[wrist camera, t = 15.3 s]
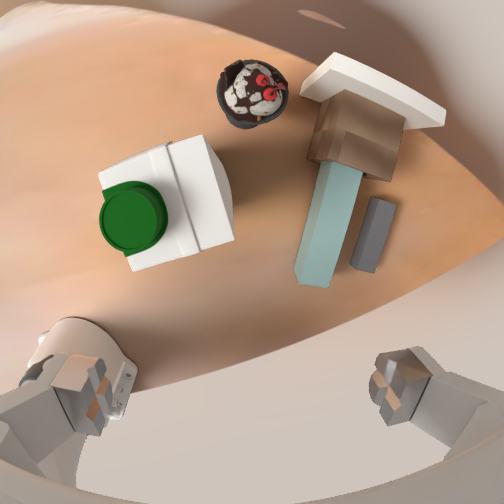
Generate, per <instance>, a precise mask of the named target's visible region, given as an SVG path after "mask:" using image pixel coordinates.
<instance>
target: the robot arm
mask: <svg viewBox="0 0 504 504" xmlns="http://www.w3.org/2000/svg"><path fill="white" fill-rule="evenodd" d="M38 342H39V347H38V348H37V350H36V351H35V353H34V355H33V356H32V358H31V359H30V361H29V363H28V368H29V369H28V371H26V372H25V374H24V375H23V377H22V380H21V381H20V383H19V387H18V388H16V389H14V390H12V391H10V392H8V393H6V394H4V395H2V396H0V504H146V503H139V502H133V501H128V500H122V499H117V498H112V497H108V496H103V495H99V494H95V493H91V492H88V491H84V490H80V489H77V488H76V471H77V466H78V462H79V458H80V454H81V451H82V448H83V445H84V442H85V439H86V438H87V437H86V436H88V435H94V436H100V435H101V433H102V430H103V428H105V427H106V426H107V424H108V421H109V420H118V419H121V418H122V417H123V415H124V412H125V408H126V405H127V402H128V399H129V396H130V393H131V390H132V387H133V384H134V381H135V378H136V375H137V372H138V368H137V366H136V365H135V364H134V363H133V362H132V361H131V360H129V359H128V358H127V357H125V355H124V354H123V353H122V351H121V350H120V348H119V347H118V345H117V344H116V342H115V341H114V340H113V339H112V338H111V337H110V336H109V335H108V334H107V333H106V332H105V331H104V330H103V329H101V328H100V327H98V326H97V325H95V324H93V323H91V322H89V321H86V320H83V319H79V318H66V319H62V320H60V321H59V322H57V323H56V324H55V325H54V326H53V328H52V329H51V330H50V331H49V332H46V333H43V334H42V335H41V336H40V337H39V339H38ZM375 366H376V368H377V370H376V371H375V372H374V373H373V374H372V375H371V378H370V381H369V393H370V396H371V399H372V401H373V402H374V403H375V404H377V405H379V406H381V408H380V411H379V413H380V414H381V416H382V418H383V419H384V421H385V423H386V424H387V426H390V425H395V424H399V423H403V422H407V421H410V422H411V423H413V424H414V425H416V426H417V427H419V428H420V429H422V430H423V431H425V432H427V433H428V434H430V435H431V436H433V437H435V438H436V439H437V440H439V441H441V442H442V443H444V444H446V445H447V446H449V447H451V449H450V451H449V452H448V453H447V454H446V456H445V458H444V460H443V461H442V462H439V463H437V464H434V465H432V466H430V467H428V468H425V469H423V470H420V471H418V472H415V473H413V474H410V475H407V476H405V477H402V478H399V479H396V480H393V481H390V482H387V483H384V484H381V485H378V486H375V487H371V488H367V489H364V490H360V491H357V492H352V493H348V494H344V495H340V496H335V497H331V498H326V499H321V500H315V501H310V502H304V503H297V504H504V392H503V391H500V390H497V389H495V388H492V387H489V386H486V385H484V384H481V383H478V382H476V381H473V380H470V379H468V378H465V377H462V376H460V375H457V374H455V373H452V372H445V370H444V369H443V368H442V367H441V366H440V365H439V364H438V363H437V362H436V361H435V360H434V359H433V358H432V357H431V356H430V355H429V354H428V353H427V352H426V351H425V350H424V349H423V348H422V347H420V346H416V347H412V348H407V349H405V350H399V351H393V352H387V353H380V354H379V355H378V357H377V358H376V362H375ZM129 374H130V375H129Z"/></svg>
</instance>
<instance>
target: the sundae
mask: <svg viewBox="0 0 504 504" xmlns="http://www.w3.org/2000/svg"><path fill="white" fill-rule="evenodd" d="M220 76H221V77H220V79H219V80H218V84H217V91H216V92H217V98H218V102H219V105H220V106H221V108H222V110H223V111H224V113H225V114H226V117H227V119H228V120H229V122H230V123H231V124H233V125H234V126H236V127H238V128H242V129H249V128H253V127H255V126H257V125H258V124H263V123H267V122H269V121H271V120H273V119H275V118H277V117H278V116H279V115H280V114H281V113H282V112H283V110H284V109H285V106H286V104H287V101H288V94H289V91H288V82H287V81H286V80H285V78H284V77H283V75H282V74H281V73H280V72H279V71H278V70H277V69H276V68H274V67H273V66H271V65H269V64H267V63H265V62H262V61H259V60H244V61H242V60H238V61H236V62H234V63H232V64H231V65H229V66H228V67H226V68H225V69H224V72H222V73H221V74H220Z"/></svg>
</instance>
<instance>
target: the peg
mask: <svg viewBox="0 0 504 504" xmlns="http://www.w3.org/2000/svg"><path fill="white" fill-rule="evenodd" d="M362 174H363V172H362V171H359V170H356V169H353V168H351V167H348V166H345V165H342V164H340V163H337V162H321V165H320V169H319V173H318V177H317V181H316V185H315V189H314V193H313V197H312V201H311V205H310V209H309V213H308V217H307V221H306V224H305V228H304V232H303V236H302V240H301V243H300V247H299V251H298V254H297V258H296V261H295V265H294V269H293V271H294V273H295V275H296V278H297V280H298V283H299V284H303V285H310V286H318V287H325V288H328V287H329V284H330V281H331V278H332V275H333V272H334V269H335V266H336V263H337V260H338V257H339V254H340V251H341V247H342V244H343V241H344V238H345V234H346V231H347V228H348V224H349V221H350V218H351V214H352V211H353V207H354V204H355V200H356V196H357V193H358V189H359V185H360V181H361V178H362Z"/></svg>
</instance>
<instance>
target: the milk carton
mask: <svg viewBox="0 0 504 504" xmlns="http://www.w3.org/2000/svg"><path fill="white" fill-rule="evenodd" d="M169 143H172V141H169V142H166V143H163V144H160V145H158V146H155V147H153V148H151V149H148V150H146V151H143V152H141V153H138V154H136V155H133V156H131V157H129V158H126V159H124V160H122V161H120V162H118V163H116V164H114V165H112V166H110V167H109V168H107V169H105V170H103V171H101V172H100V173H99V174H98V175H99V178H100V182H101V184H102V187H103V191H102V193H103V196H104V199H105V202H104V203H103V206H102V208H101V211H100V216H99V223H100V229H101V232H102V234H103V236H104V238H105V239H106V241H107V242H108V243H109V244H110V245H111V246H112V247H114V248H116V249H118V250H120V251H123V253H124V255H125V257H127V258H128V261H129V264H130V266H131V269H132V271H134V272H135V271H138V270H142V269H145V268H148V267H152V266H155V265H158V264H162V263H165V262H168V261H172V260H175V259H178V258H182V257H187V256H190V255H194V254H197V253H199V252H202V251H203V250H204V249H208V248H211V247H214V246H217V245H221V244H224V243H227V242H230V241H234V240H235V237H234V223H233V202H232V194H231V189H230V184H229V181H228V177H227V174H226V172H225V169H224V167H223V164H222V163H221V161H220V160H219V159H218V157H217V156H216V154H215V153H214V151H213V150H212V148H211V147H210V145H209V144H208V142H207V140H206V139H205V137H204V136H203V134H201V135H198V136H194V137H191V138H187V139H184V140H181V141H178V142H175V143H172V144H169ZM167 144H169V145H167Z"/></svg>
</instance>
